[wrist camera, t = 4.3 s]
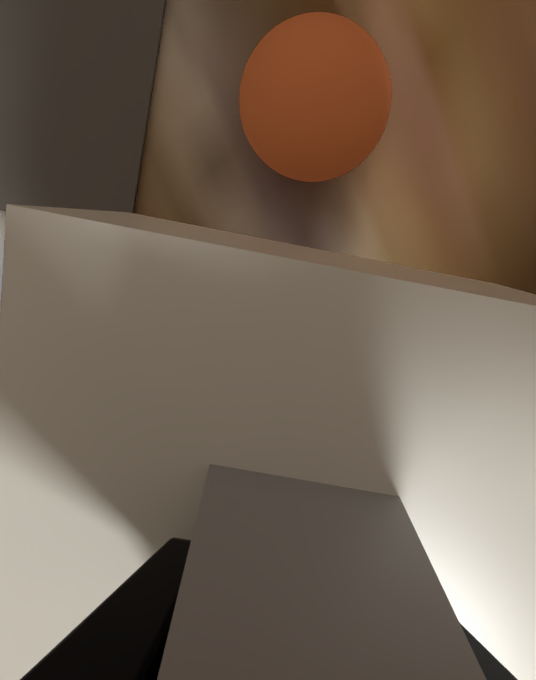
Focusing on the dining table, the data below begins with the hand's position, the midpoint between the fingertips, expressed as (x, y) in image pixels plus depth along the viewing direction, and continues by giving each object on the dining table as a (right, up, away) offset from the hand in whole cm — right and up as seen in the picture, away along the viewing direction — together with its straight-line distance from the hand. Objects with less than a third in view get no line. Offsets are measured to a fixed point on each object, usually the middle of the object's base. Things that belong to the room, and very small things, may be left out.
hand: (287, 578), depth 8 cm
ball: (+1, +12, +8) cm, 14 cm away
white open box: (0, +2, +6) cm, 6 cm away
